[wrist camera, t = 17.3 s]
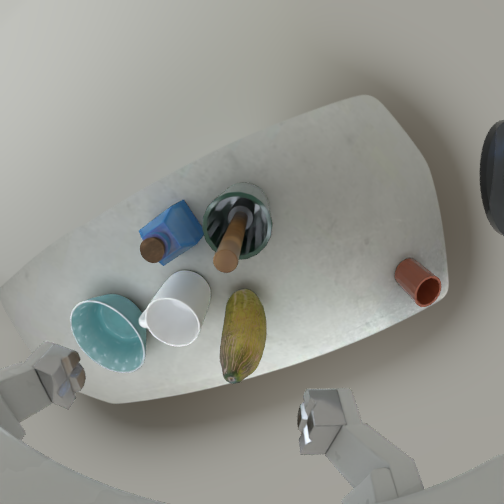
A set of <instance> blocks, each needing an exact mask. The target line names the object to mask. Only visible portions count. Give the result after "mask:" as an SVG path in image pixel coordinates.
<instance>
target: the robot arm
mask: <svg viewBox="0 0 504 504" xmlns="http://www.w3.org/2000/svg"><path fill="white" fill-rule="evenodd" d="M79 361H80V357H79V354H78V352H76V351H74V350H71V349H68V348H66V347H63V346H61V345H58V344H55V343H53V342H50V341H44V342H43V343H42V344H41V345H40V346H39V347H38V348H37V349H36V350H35V351H34V352H33V353H32V354H31V355H30V356H29V357H28V359H27V360H26V361H25V362H24V363H22V362H19V363H16V364H13V365H11V366H8V367H5V368H2V369H0V504H168V503H164V502H160V501H156V500H152V499H149V498H145V497H141V496H138V495H135V494H132V493H129V492H126V491H123V490H120V489H117V488H114V487H112V486H109V485H106V484H104V483H101V482H99V481H96V480H94V479H92V478H89V477H87V476H85V475H82V474H80V473H78V472H76V471H74V470H72V469H70V468H68V467H66V466H64V465H62V464H60V463H58V462H56V461H54V460H52V459H51V458H49V457H47V456H45V455H44V454H42V453H40V452H39V451H37V450H35V449H34V448H32V447H30V446H29V445H27V444H25V443H24V442H23V441H21V440H22V439H23V437H24V435H25V430H24V429H23V428H22V426H21V425H20V422H21V421H23V420H25V419H27V418H28V417H30V416H31V415H33V414H35V413H37V412H39V411H40V410H42V409H44V408H45V407H47V406H49V405H50V404H51V402H52V403H54V404H56V405H59V406H61V407H64V408H66V409H69V408H70V406H71V405H72V403H73V401H74V400H75V398H76V396H75V393H76V392H78V391H81V389H82V388H83V386H84V383H85V379H86V377H85V371H84V368H83V367H82V366H81V365H80V363H79ZM303 398H304V402H303V403H302V404H300V408H299V411H298V430H299V431H300V432H301V433H302V434H301V436H300V438H299V443H300V452H301V455H314V454H325V456H326V457H327V458H328V459H329V461H330V462H331V463H332V464H333V465H334V466H335V467H336V469H337V470H338V471H339V472H340V473H341V474H342V475H343V477H344V478H345V479H346V480H347V481H348V482H349V483H350V484H351V485H352V486H353V488H354V489H353V490H352V491H351V492H350V493H349V494H348V495H347V496H345V497H344V499H342V504H504V455H498V456H496V457H493V458H491V459H490V460H488V461H486V462H484V463H482V464H481V465H479V466H477V467H475V468H473V469H471V470H469V471H467V472H465V473H463V474H461V475H458V476H456V477H454V478H452V479H449V480H447V481H445V482H442V483H440V484H437V485H435V486H432V487H429V488H427V489H424V487H423V484H422V481H421V479H420V475H419V473H418V470H417V467H416V464H415V462H414V459H413V458H411V457H409V456H408V455H407V454H406V453H404V452H403V451H402V450H400V449H399V448H398V447H396V446H395V445H394V444H392V443H391V442H390V441H389V440H387V439H386V438H385V437H383V436H382V435H381V434H380V433H378V432H377V431H376V430H374V429H373V428H372V427H371V426H370V425H368V424H367V423H362V420H361V417H360V414H359V411H358V408H357V404H356V401H355V398H354V395H353V393H352V390H351V389H350V388H340V389H339V388H338V389H306V391H305V393H304V396H303Z"/></svg>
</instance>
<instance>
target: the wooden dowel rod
mask: <svg viewBox="0 0 504 504" xmlns="http://www.w3.org/2000/svg"><path fill="white" fill-rule="evenodd" d="M254 211H255V207H254V204H253V202H252V201H251V200H249V199H247V198H241V199H238V200H237V201H236V202H235V203H234V205H233V206H232V208H231V210H230V211H229V213H228V223H229V226H228V228H227V230H226V232H225V234H224V236H223V238H222V241H221V243H220V245H219V247H218V249H217V251H216V253H215V255H214V258H213V263H214V266H215V267H216V268H217V269H218V270H219V271H221V272H224V273H228V272H231V271H233V270H234V269H235V268H236V267H237V265H238V260H239V256H240V251H241V247H242V242H243V238H244V234H245V230H246V229H248V228H249V227H250V226H251V225H252V223H253V219H254Z"/></svg>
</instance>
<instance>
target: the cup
mask: <svg viewBox="0 0 504 504" xmlns="http://www.w3.org/2000/svg"><path fill="white" fill-rule="evenodd" d="M241 198H247V199H249V200H251V201H252V202H253V204H254V207H255V211H254V219H253V223H252V225H251V226H250V227H249V228H248V229H246V230H245V234H244V238H243V242H242V247H241V251H240V256H239V260H240V259H248V258H250V257H252V256H255V255H257V254H258V253H259V252H260V251H261V250H262V249H264V248H265V246H266V245H267V243H268V241H269V239H270V237H271V232H272V219H271V213H270V207H269V203H268V199H267V197H266V195H265V193H264V192H263V191H262V190H261V189H260V188H259V187H258V186H256V185H254V184H251V183H247V182H242V183H237V184H234V185H232V186H230V187H229V188H227V189H226V190H225V191H224V192H223V193H221V194H220V195H219V196H218V197H217V198H215V200H214V201H213V202H212V203H211V204H210V205H209V206H208V207H207V209H206V212H205V214H204V216H203V225H202V229H203V233H204V236H205V240H206V242H207V243H208V244H209V246H210V247H211V248H212V250H213V251H215V252H216V251H217V249H218V247H219V245H220V243H221V241H222V238H223V236H224V234H225V232H226V230H227V228H228V226H229V223H228V213H229V211H230V210H231V208H232V206H233V205H234V203H235V202H236V201H237V200H238V199H241Z"/></svg>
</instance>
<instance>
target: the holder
mask: <svg viewBox="0 0 504 504" xmlns="http://www.w3.org/2000/svg"><path fill="white" fill-rule="evenodd" d="M395 280H396V282H397V283H398V285H399V286H400V287H401V288H402V289H403V290H404V291H405V292H406V293H407V294H408V295H409V296H410V297H411V299H412V300H413V301H414V302H415V303H416V304H417V305H419V306H420V307H426V306H429V305H431V304H432V303H433V302H434V301H435V300H436V299H437V298H438V296H439V294H440V291H441V282H440V279H439V278H438V277H436V276H435V275H434V274H433V273H431V272H430V271H429V270H427V269H426V268H425V267H424V266H422V265H421V264H420V263H418V262H417V261H416V260H414V259H411V258H409V259H405V260H403V261H402V262H401V263H400V264H399V265H398V266H397V268H396V271H395Z"/></svg>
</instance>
